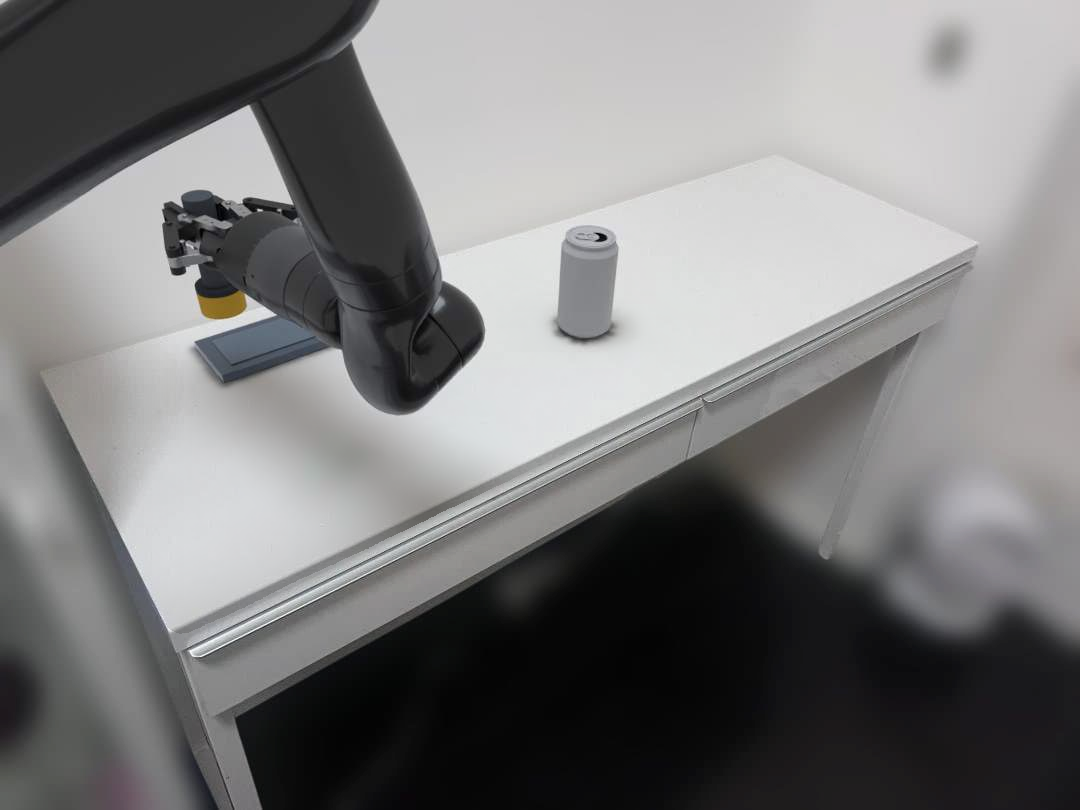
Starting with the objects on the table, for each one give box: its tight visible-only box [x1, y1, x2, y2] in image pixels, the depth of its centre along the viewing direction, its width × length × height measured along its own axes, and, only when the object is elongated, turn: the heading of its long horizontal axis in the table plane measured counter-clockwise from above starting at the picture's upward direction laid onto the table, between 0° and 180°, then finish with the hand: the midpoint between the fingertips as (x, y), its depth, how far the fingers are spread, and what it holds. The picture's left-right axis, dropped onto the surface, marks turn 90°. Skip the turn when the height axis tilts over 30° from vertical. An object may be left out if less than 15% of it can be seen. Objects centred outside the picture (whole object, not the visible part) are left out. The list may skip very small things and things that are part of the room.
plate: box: [193, 314, 330, 384], centre depth 90 cm, size 14×8×1 cm, turn 129°
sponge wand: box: [180, 189, 248, 320], centre depth 78 cm, size 4×4×12 cm
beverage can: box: [556, 224, 620, 339], centre depth 93 cm, size 6×6×12 cm
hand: (185, 207), depth 77 cm, fingers closed on sponge wand, 3 cm apart
